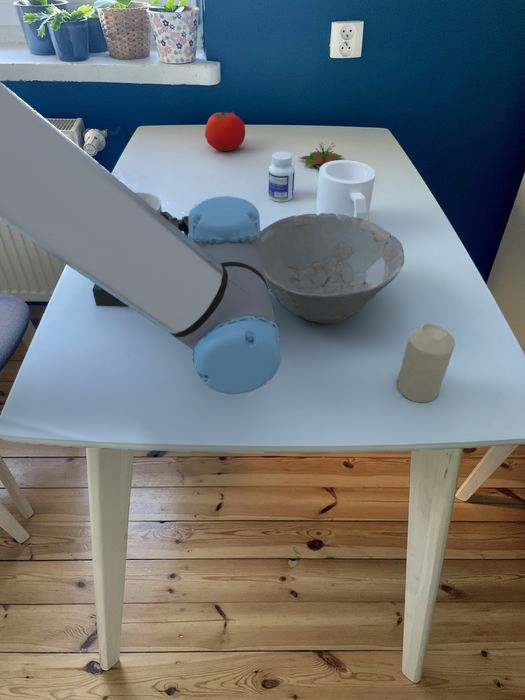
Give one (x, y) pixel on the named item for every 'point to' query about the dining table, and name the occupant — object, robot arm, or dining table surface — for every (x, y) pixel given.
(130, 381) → the dining table surface
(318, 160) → the lily flower
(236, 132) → the tomato
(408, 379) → the candle
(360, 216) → the mug
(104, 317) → the dining table surface
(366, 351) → the dining table surface
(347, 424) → the dining table surface
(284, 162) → the pill bottle
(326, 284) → the ceramic bowl
